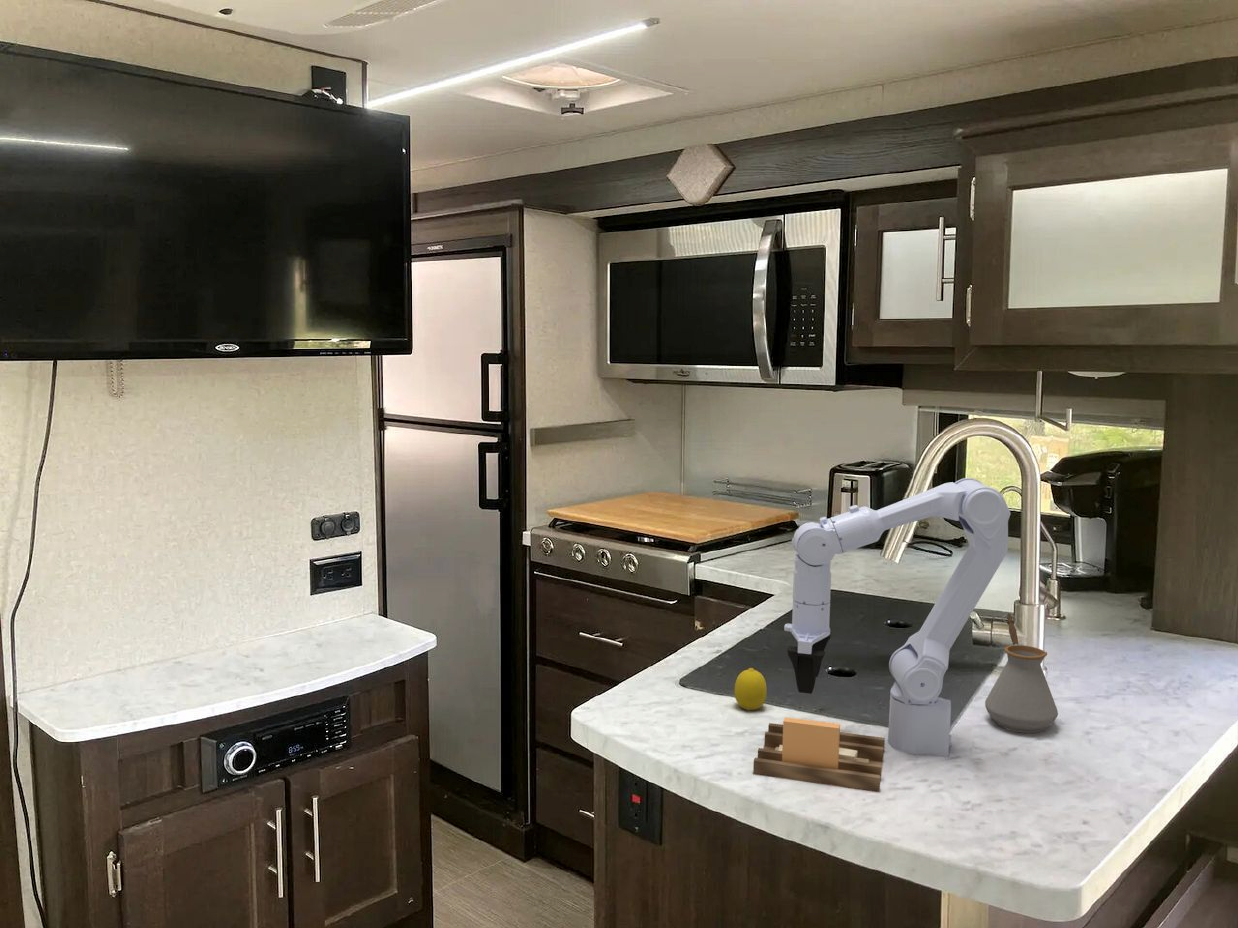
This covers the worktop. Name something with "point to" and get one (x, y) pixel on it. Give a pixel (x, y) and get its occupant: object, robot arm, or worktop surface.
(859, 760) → the offcut stack
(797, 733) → the orange square slab
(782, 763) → the rack
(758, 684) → the lemon
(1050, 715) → the coffee pot
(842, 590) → the worktop surface
